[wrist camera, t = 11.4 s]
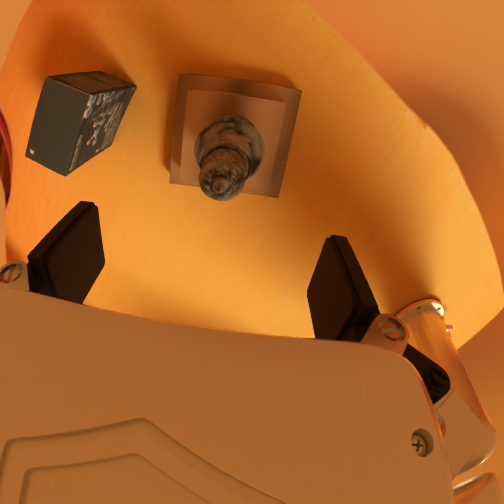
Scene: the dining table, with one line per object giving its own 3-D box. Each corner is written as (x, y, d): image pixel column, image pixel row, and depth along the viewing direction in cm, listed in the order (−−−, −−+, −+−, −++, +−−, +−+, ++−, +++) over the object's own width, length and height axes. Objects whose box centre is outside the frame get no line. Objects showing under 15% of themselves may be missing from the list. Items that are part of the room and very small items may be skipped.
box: (112, 146, 29) (64, 179, 20) (76, 128, 27) (22, 156, 18) (139, 85, 25) (91, 95, 16) (100, 69, 23) (43, 76, 15)
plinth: (298, 89, 26) (305, 91, 23) (276, 190, 33) (279, 205, 29) (183, 74, 25) (174, 74, 21) (173, 177, 31) (164, 190, 28)
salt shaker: (201, 111, 24) (164, 140, 14) (265, 113, 24) (276, 142, 14) (201, 170, 27) (171, 234, 17) (261, 172, 27) (267, 238, 17)
